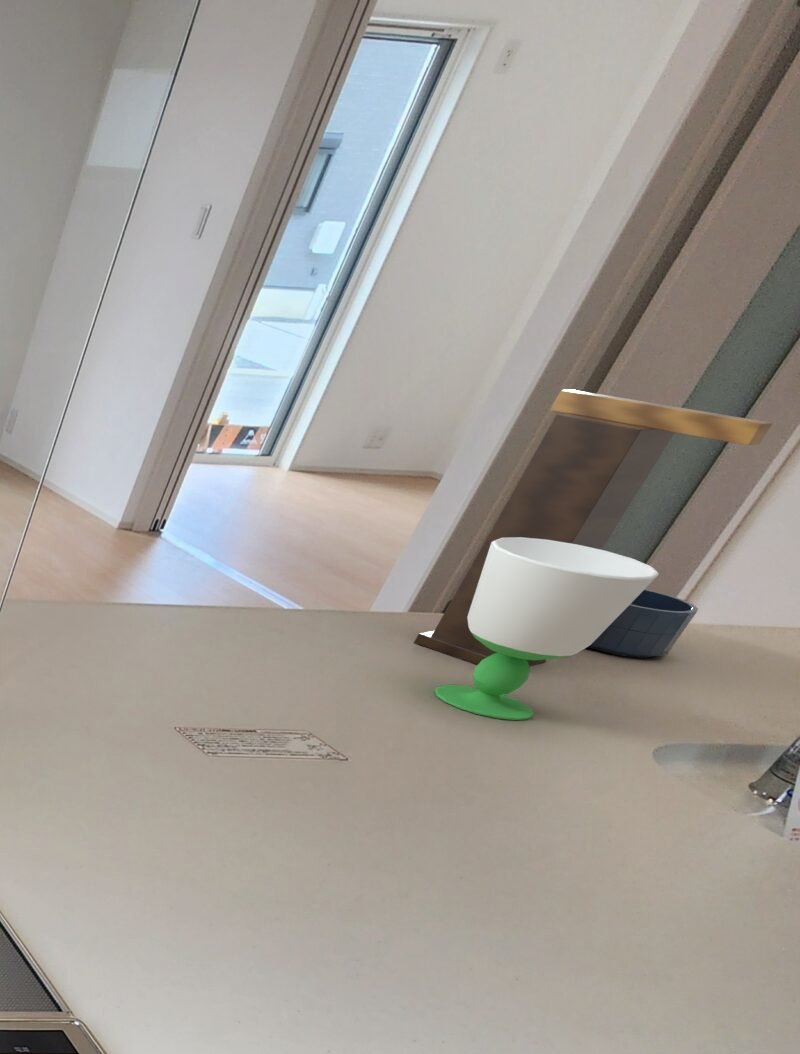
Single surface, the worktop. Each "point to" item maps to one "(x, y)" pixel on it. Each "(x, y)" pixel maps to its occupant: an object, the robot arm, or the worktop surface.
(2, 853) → the worktop surface
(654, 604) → the bowl
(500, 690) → the cup
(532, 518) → the tall brown box
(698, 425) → the wooden bar
